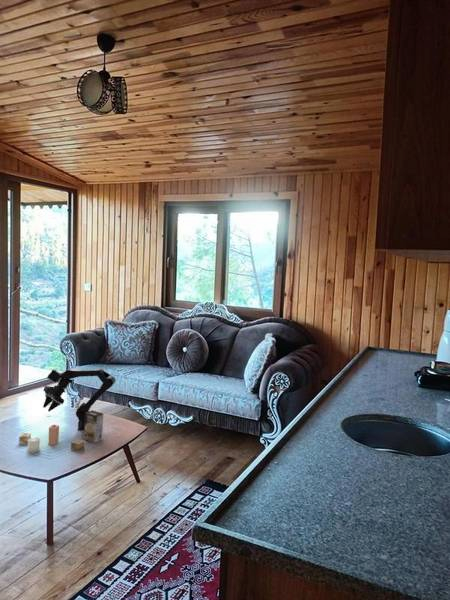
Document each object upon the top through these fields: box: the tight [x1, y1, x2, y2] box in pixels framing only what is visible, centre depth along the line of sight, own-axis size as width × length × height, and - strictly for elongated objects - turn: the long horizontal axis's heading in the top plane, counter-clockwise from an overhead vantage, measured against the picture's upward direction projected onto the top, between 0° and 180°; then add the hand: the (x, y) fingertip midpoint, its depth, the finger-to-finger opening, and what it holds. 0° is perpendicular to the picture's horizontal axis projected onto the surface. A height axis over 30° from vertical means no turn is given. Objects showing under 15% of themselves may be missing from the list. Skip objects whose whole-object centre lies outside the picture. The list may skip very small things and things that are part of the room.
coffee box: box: [83, 410, 104, 443], centre depth 264 cm, size 9×6×16 cm
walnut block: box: [70, 439, 85, 453], centre depth 250 cm, size 5×5×4 cm
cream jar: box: [27, 437, 41, 454], centre depth 245 cm, size 6×6×6 cm
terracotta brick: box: [48, 424, 60, 446], centre depth 255 cm, size 4×4×11 cm
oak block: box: [18, 432, 32, 445], centre depth 255 cm, size 5×5×4 cm
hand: (46, 409), depth 271 cm, fingers open, 9 cm apart
